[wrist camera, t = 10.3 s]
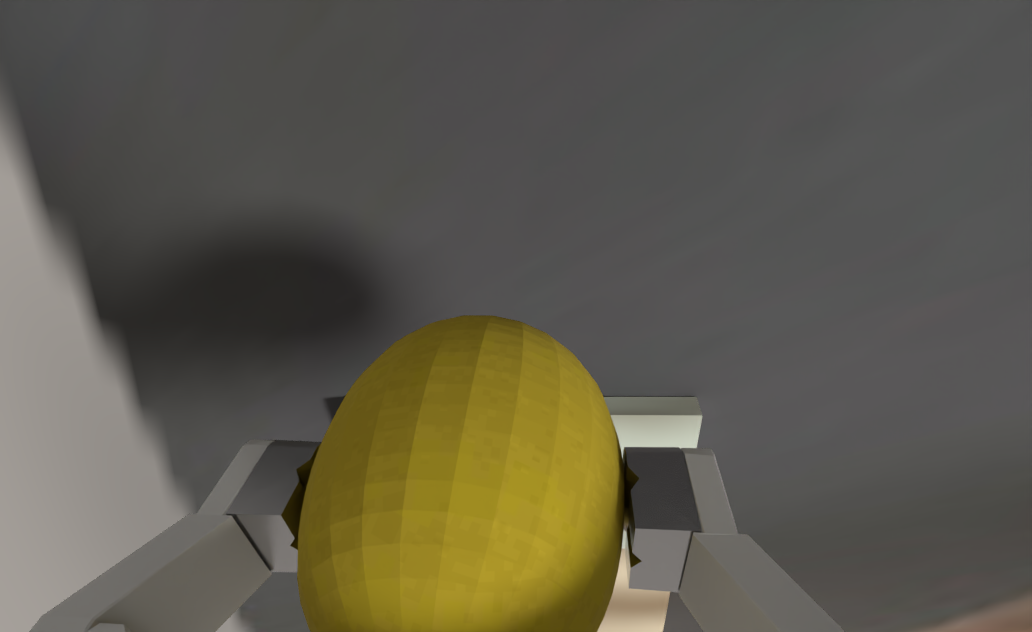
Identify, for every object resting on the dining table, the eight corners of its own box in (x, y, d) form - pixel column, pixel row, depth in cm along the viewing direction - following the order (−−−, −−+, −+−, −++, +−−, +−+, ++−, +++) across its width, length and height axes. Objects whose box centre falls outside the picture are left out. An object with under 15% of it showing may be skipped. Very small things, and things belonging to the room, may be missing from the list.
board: (346, 396, 21) (337, 413, 20) (696, 397, 19) (702, 415, 18) (418, 609, 30) (414, 627, 29) (658, 620, 28) (661, 640, 27)
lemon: (379, 396, 14) (208, 776, 7) (404, 219, 11) (147, 603, 4) (568, 443, 14) (568, 841, 8) (646, 286, 11) (757, 733, 5)
